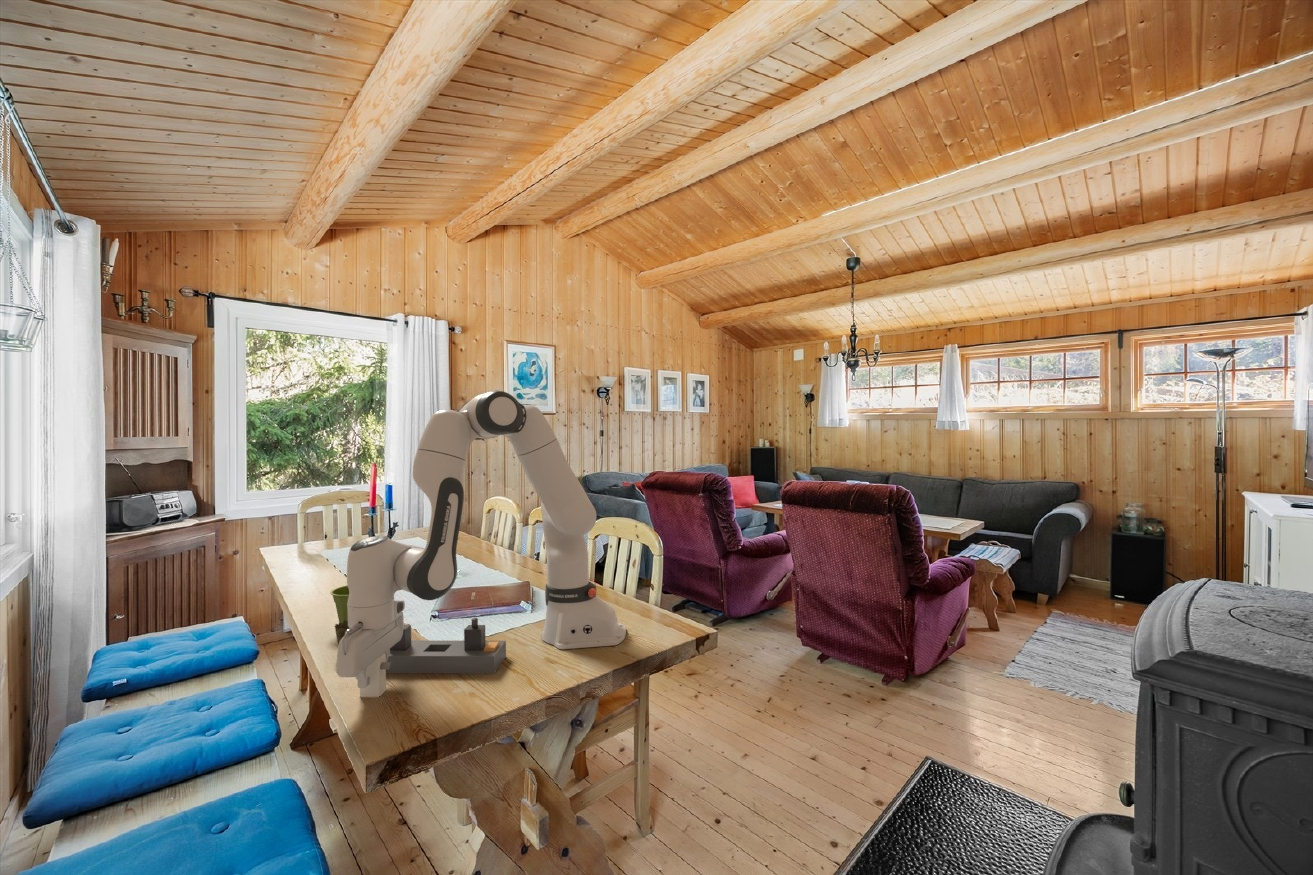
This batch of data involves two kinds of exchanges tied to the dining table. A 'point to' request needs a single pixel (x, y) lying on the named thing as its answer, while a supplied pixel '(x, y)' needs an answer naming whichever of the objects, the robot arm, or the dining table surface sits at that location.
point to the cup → (341, 630)
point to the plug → (376, 678)
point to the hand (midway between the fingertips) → (372, 678)
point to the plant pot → (341, 602)
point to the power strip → (447, 653)
